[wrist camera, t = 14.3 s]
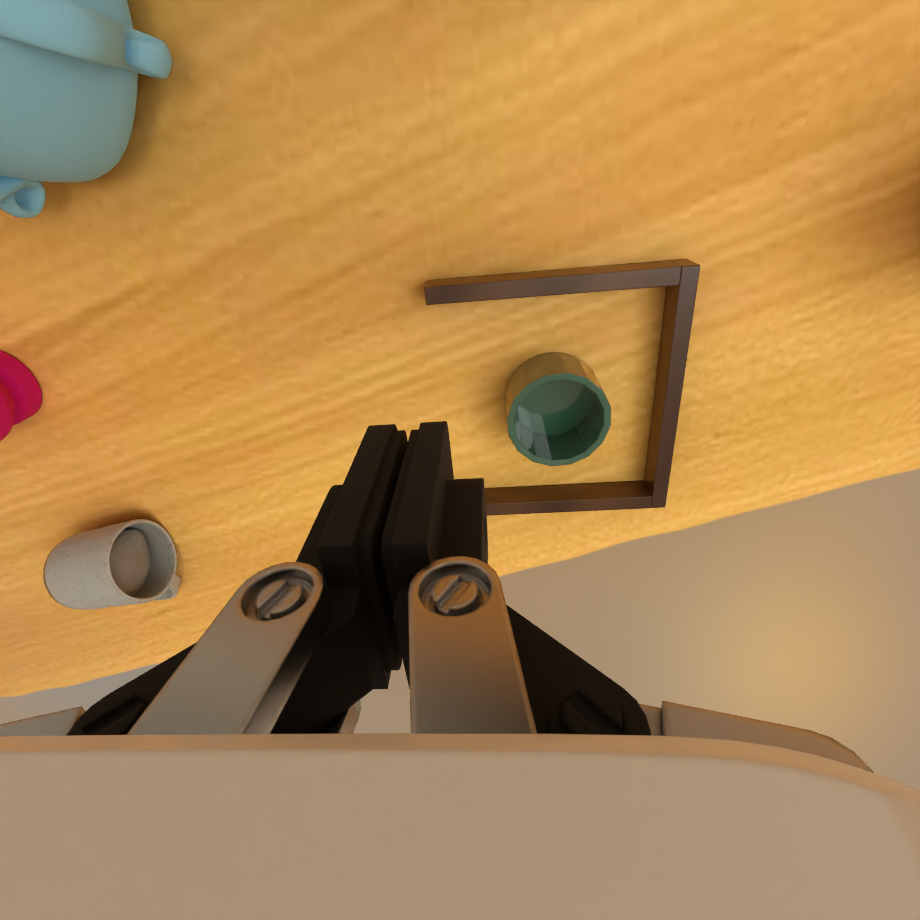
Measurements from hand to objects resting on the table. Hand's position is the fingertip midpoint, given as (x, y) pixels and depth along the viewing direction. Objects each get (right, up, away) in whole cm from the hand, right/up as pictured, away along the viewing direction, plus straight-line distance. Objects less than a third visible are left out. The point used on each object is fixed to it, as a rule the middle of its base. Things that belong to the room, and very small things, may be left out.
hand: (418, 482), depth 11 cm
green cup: (+8, +6, +29) cm, 31 cm away
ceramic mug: (-31, -8, +40) cm, 51 cm away
